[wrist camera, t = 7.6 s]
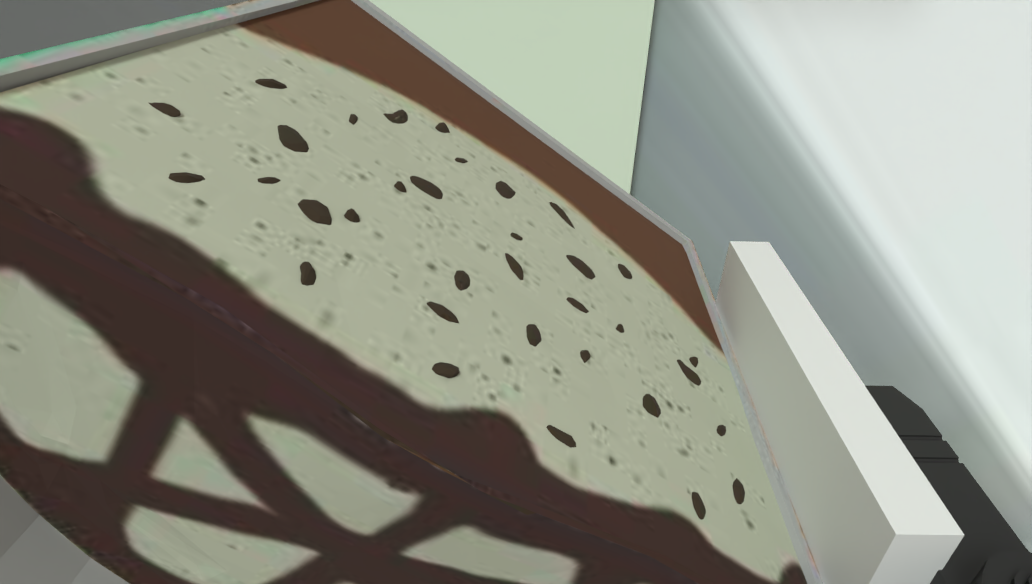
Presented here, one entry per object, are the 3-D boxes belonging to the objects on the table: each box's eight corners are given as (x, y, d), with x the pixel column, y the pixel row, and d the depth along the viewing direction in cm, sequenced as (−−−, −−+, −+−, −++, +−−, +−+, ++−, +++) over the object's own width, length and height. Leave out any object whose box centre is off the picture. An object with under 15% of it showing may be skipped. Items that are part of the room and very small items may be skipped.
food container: (167, 167, 15) (-318, 533, 7) (270, -73, 12) (-369, 82, 4) (576, 415, 19) (568, 862, 10) (738, 274, 16) (908, 748, 7)
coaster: (347, 241, 29) (341, 254, 28) (295, -137, 21) (284, -137, 20) (617, 245, 29) (621, 258, 28) (663, -128, 21) (671, -127, 20)
